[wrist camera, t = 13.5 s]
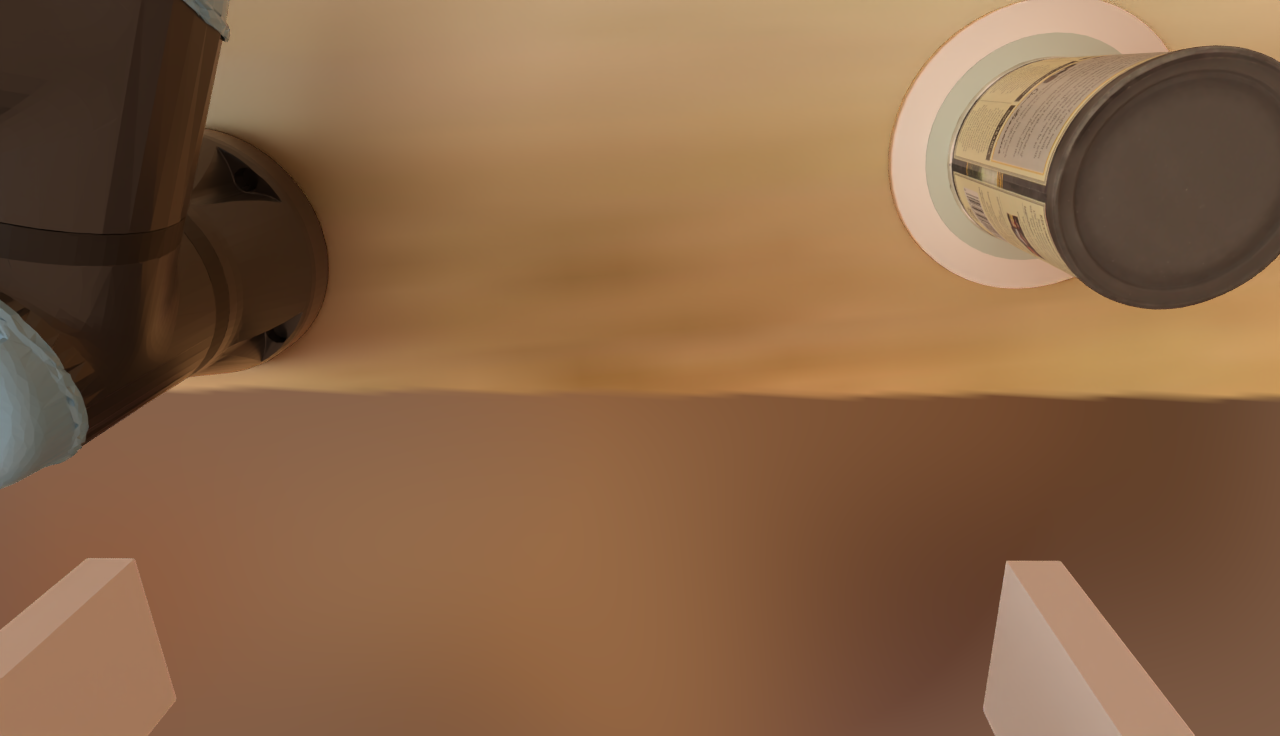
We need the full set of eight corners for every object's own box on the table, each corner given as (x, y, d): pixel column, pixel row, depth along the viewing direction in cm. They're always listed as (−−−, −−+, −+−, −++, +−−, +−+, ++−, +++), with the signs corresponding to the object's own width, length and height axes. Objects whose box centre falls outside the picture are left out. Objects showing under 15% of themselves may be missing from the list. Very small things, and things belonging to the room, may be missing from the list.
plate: (877, 285, 49) (883, 291, 48) (900, 2, 44) (907, 0, 42) (1144, 281, 48) (1157, 287, 47) (1202, -8, 43) (1218, -11, 42)
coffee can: (1174, 105, 44) (1388, 119, 30) (1061, 271, 47) (1209, 349, 34) (1013, 19, 42) (1162, -5, 29) (910, 196, 46) (1002, 246, 33)
